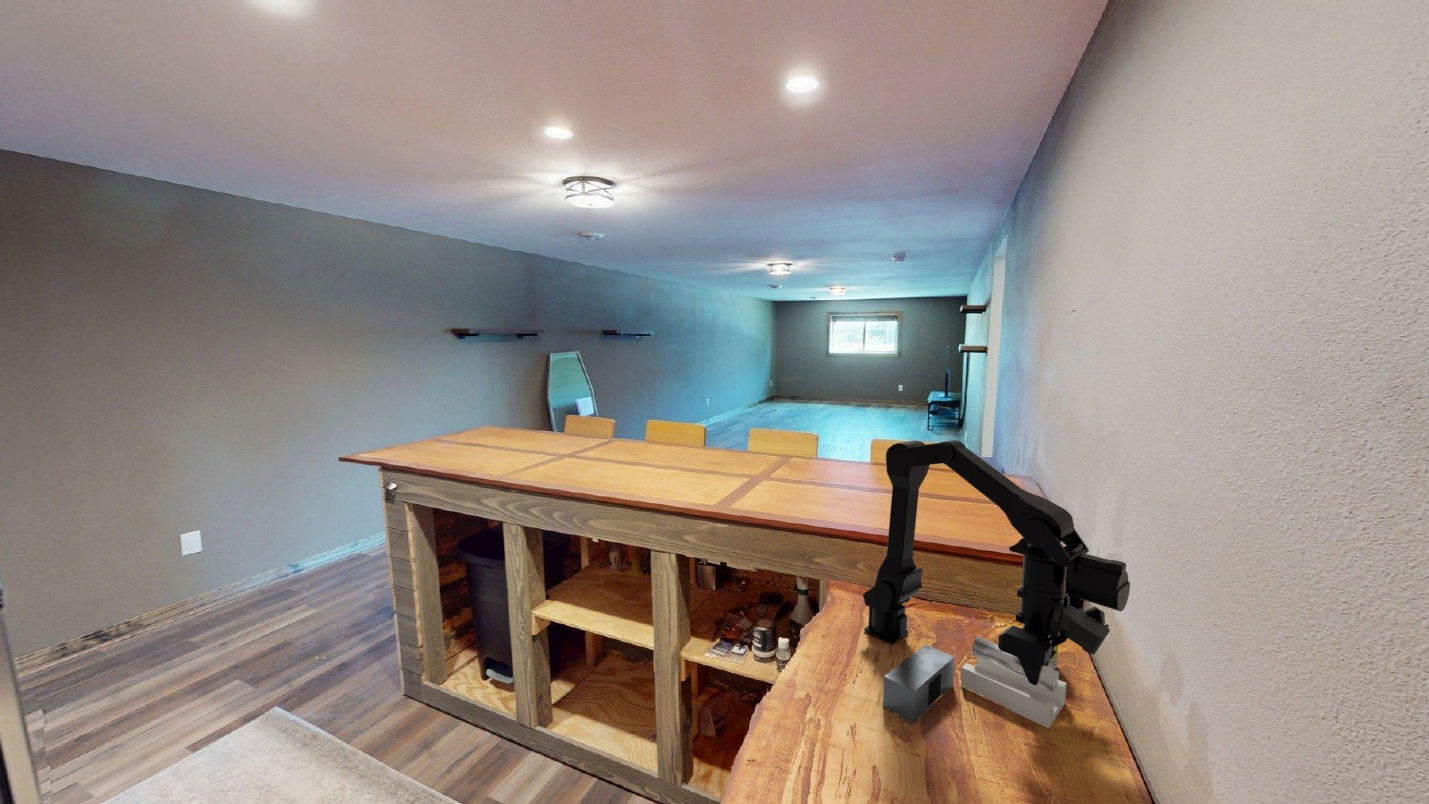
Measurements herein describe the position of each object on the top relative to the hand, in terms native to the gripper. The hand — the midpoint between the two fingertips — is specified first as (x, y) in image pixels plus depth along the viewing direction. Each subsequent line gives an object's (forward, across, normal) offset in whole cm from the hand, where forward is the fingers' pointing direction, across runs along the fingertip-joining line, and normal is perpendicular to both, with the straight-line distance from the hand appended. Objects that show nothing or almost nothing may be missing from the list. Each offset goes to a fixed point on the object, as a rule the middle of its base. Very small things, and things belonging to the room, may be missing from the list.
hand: (1036, 679), depth 82 cm
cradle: (+4, 0, +3) cm, 6 cm away
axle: (-1, 0, +3) cm, 4 cm away
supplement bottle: (+5, +14, +3) cm, 15 cm away
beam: (+4, -12, +14) cm, 19 cm away
